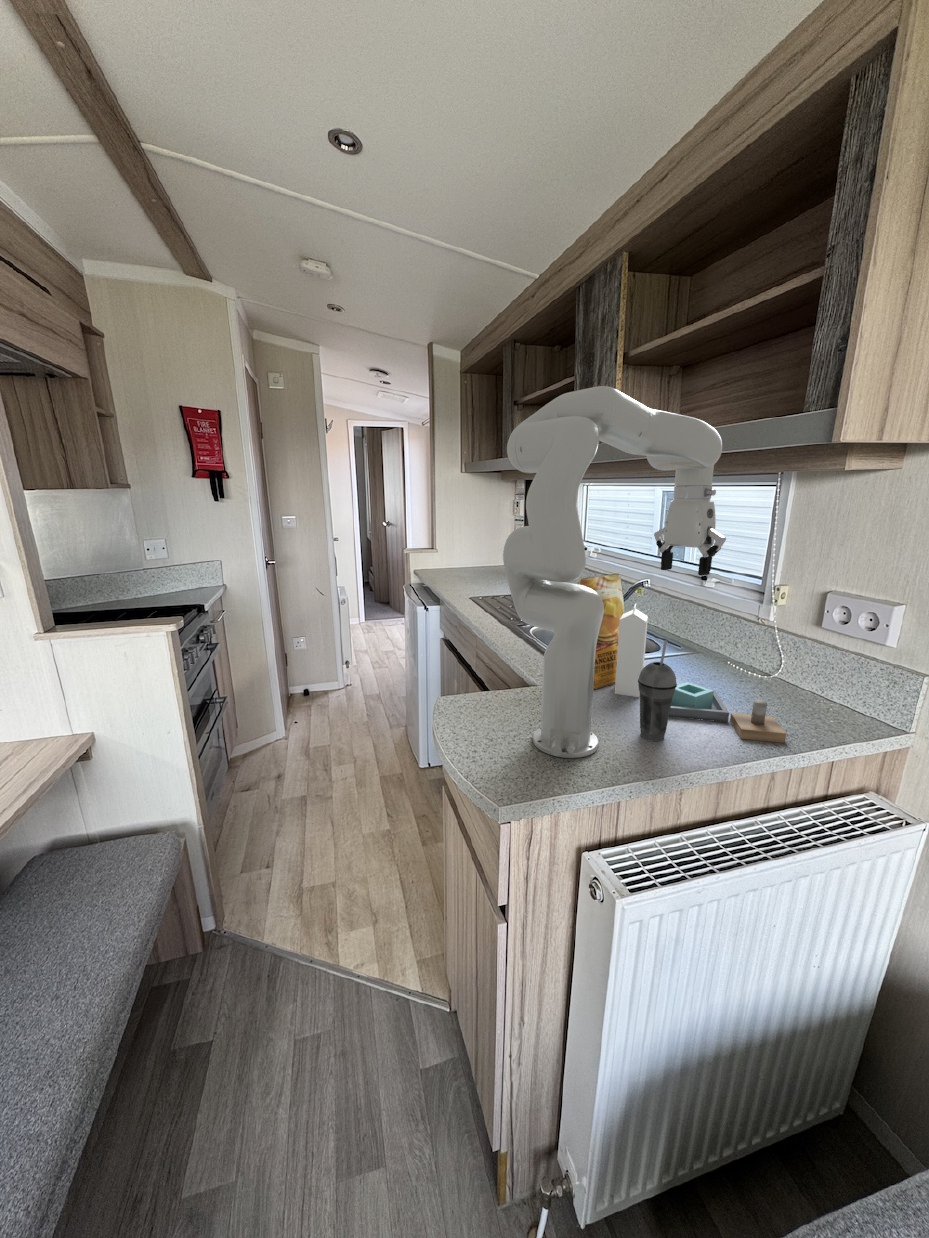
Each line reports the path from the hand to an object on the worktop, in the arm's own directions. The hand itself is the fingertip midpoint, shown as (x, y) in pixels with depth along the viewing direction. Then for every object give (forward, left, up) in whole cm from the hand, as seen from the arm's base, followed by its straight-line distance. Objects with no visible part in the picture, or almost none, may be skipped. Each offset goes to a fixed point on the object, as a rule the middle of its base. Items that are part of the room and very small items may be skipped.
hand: (684, 572), depth 115 cm
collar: (-5, -4, -30) cm, 30 cm away
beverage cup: (-23, +7, -31) cm, 39 cm away
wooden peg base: (-16, -14, -30) cm, 37 cm away
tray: (-6, -3, -30) cm, 31 cm away
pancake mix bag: (+6, +17, -31) cm, 35 cm away
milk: (+1, +10, -31) cm, 32 cm away
